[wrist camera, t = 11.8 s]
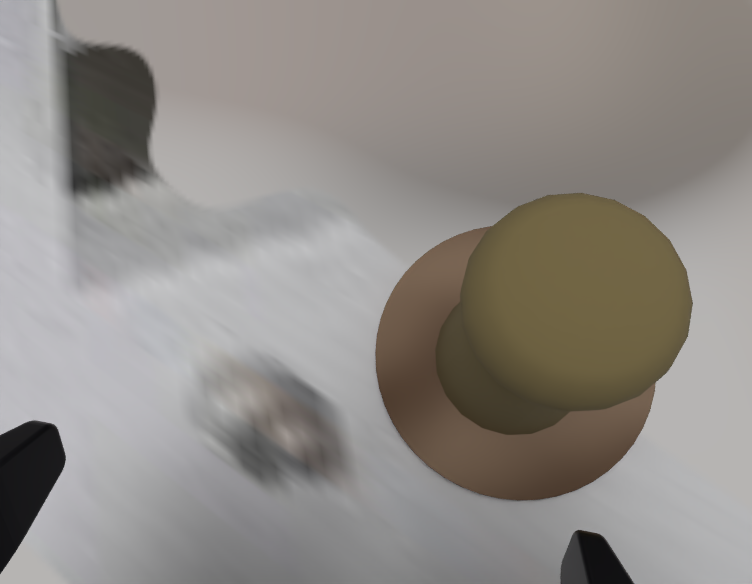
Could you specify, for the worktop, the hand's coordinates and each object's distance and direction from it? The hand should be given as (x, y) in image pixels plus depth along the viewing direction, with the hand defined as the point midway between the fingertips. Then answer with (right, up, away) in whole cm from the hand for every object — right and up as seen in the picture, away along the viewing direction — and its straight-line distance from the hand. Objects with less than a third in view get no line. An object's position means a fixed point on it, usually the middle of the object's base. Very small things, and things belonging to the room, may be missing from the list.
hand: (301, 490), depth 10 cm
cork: (+7, +1, +13) cm, 15 cm away
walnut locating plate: (+7, +1, +14) cm, 15 cm away
